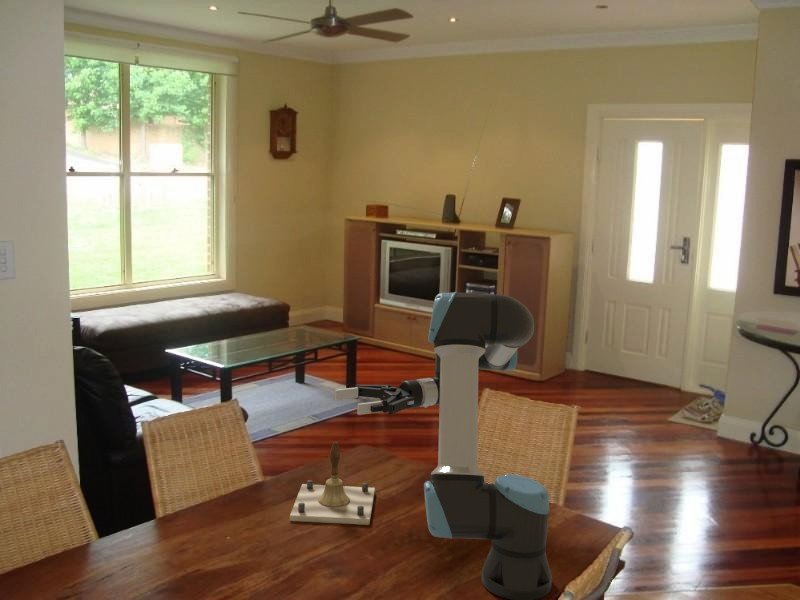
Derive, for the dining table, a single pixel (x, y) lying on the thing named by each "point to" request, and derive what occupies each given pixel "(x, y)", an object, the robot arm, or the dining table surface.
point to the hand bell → (334, 483)
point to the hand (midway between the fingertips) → (346, 402)
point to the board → (346, 514)
